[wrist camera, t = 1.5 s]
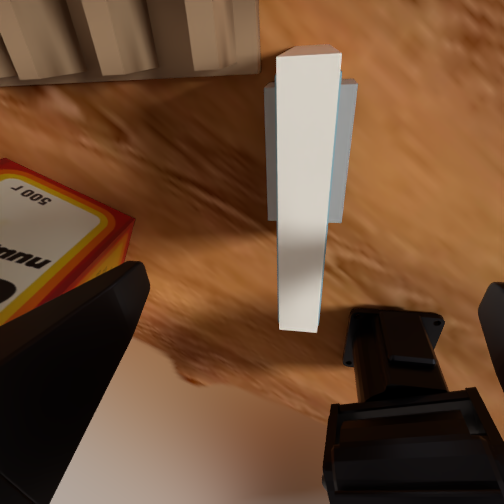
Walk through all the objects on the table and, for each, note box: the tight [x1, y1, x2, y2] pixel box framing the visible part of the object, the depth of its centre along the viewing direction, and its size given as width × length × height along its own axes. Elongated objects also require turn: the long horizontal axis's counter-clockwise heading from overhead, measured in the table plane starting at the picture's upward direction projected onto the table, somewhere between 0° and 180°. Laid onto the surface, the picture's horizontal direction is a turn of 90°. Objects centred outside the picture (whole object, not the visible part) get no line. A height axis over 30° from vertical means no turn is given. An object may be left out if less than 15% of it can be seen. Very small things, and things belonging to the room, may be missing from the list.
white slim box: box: [275, 44, 342, 333], centre depth 14 cm, size 10×2×9 cm, turn 3°
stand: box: [264, 79, 358, 223], centre depth 17 cm, size 7×4×2 cm, turn 3°
